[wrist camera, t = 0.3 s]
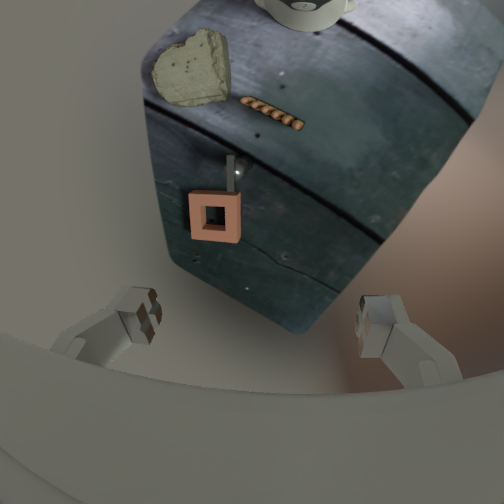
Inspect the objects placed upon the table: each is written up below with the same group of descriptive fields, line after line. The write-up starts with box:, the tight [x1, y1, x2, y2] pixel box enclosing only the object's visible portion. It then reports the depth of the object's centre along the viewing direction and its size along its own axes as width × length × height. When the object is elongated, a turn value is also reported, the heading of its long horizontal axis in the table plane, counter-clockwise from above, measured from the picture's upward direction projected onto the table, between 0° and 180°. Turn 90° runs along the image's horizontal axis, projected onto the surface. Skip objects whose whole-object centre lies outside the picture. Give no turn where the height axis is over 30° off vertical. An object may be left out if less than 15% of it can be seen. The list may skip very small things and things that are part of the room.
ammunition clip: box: [240, 96, 305, 131], centre depth 44 cm, size 11×2×12 cm, turn 64°
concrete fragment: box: [151, 28, 231, 107], centre depth 43 cm, size 15×10×15 cm
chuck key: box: [223, 155, 253, 192], centre depth 50 cm, size 6×3×11 cm, turn 179°
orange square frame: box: [189, 190, 241, 243], centre depth 59 cm, size 10×10×3 cm
